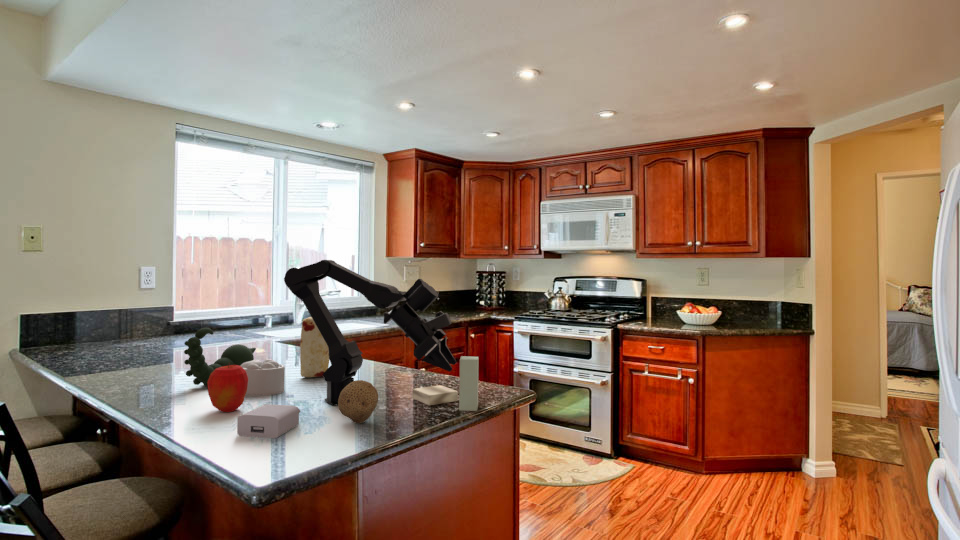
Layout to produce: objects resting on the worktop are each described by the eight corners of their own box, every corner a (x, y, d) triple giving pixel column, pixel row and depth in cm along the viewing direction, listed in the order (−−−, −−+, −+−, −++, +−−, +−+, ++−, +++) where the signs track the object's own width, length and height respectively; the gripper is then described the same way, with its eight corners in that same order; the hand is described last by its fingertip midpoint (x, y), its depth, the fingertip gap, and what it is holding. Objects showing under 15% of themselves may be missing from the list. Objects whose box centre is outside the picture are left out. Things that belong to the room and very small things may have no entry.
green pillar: (459, 410, 129) (459, 359, 129) (460, 405, 134) (461, 356, 134) (476, 410, 129) (477, 359, 129) (477, 406, 134) (478, 356, 134)
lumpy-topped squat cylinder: (253, 386, 153) (253, 357, 153) (292, 388, 151) (292, 359, 151) (229, 394, 143) (230, 363, 143) (271, 397, 140) (272, 365, 140)
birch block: (429, 406, 134) (429, 395, 134) (412, 399, 141) (412, 388, 141) (457, 402, 139) (457, 391, 139) (440, 395, 146) (440, 385, 146)
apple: (229, 404, 132) (230, 357, 132) (256, 408, 129) (257, 360, 129) (198, 413, 123) (198, 363, 123) (226, 417, 120) (226, 366, 120)
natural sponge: (368, 431, 111) (368, 385, 111) (330, 428, 113) (330, 383, 113) (383, 419, 120) (384, 377, 120) (348, 417, 122) (348, 375, 122)
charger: (311, 419, 121) (277, 439, 106) (275, 416, 122) (236, 436, 107) (312, 399, 121) (278, 416, 106) (276, 397, 122) (237, 414, 107)
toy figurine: (204, 398, 144) (268, 374, 167) (200, 332, 142) (265, 317, 166) (179, 395, 147) (245, 371, 171) (175, 330, 146) (242, 315, 169)
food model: (303, 380, 161) (304, 317, 161) (296, 376, 167) (297, 315, 167) (333, 376, 167) (334, 316, 167) (325, 373, 173) (326, 314, 173)
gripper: (427, 304, 123) (472, 350, 122) (438, 300, 141) (477, 340, 141) (394, 336, 123) (439, 382, 122) (410, 328, 142) (449, 368, 141)
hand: (453, 366), depth 132 cm, fingers open, 9 cm apart
